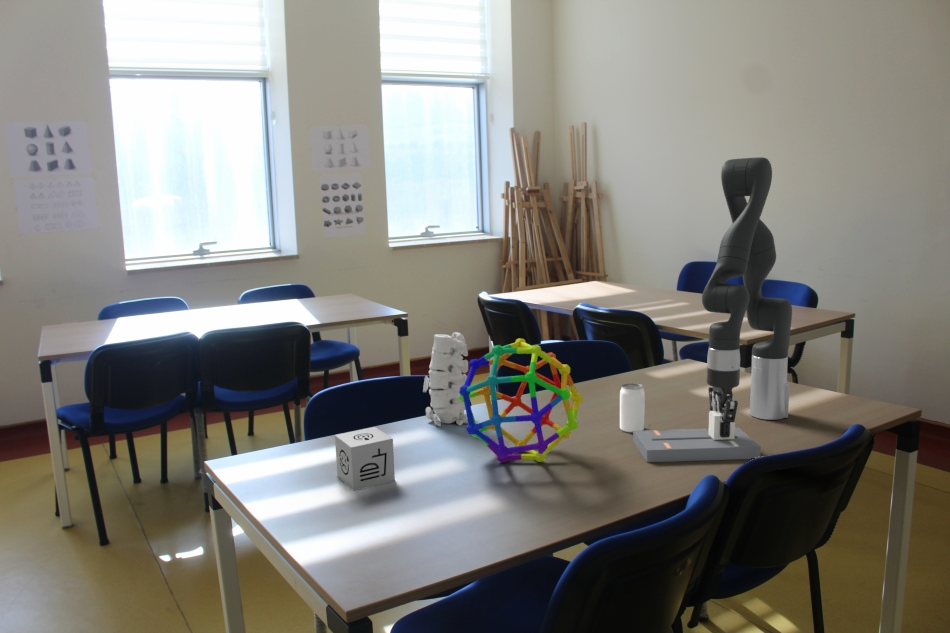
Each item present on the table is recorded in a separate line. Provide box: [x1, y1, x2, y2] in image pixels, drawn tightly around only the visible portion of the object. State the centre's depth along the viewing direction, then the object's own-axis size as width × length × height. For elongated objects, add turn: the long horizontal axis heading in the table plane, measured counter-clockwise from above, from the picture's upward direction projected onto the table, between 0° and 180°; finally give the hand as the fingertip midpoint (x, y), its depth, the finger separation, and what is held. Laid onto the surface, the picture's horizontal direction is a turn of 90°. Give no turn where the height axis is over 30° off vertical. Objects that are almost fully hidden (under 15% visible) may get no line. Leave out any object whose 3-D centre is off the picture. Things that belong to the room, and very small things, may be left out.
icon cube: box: [334, 426, 396, 491], centre depth 167 cm, size 10×10×10 cm
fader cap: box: [708, 411, 736, 440], centre depth 178 cm, size 5×4×6 cm
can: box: [619, 382, 646, 434], centre depth 195 cm, size 6×6×12 cm
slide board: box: [632, 427, 762, 463], centre depth 179 cm, size 27×14×3 cm, turn 91°
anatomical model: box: [422, 331, 469, 427], centre depth 205 cm, size 11×12×25 cm
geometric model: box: [459, 338, 584, 464], centre depth 174 cm, size 30×30×30 cm
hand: (721, 433), depth 179 cm, fingers closed on fader cap, 4 cm apart
